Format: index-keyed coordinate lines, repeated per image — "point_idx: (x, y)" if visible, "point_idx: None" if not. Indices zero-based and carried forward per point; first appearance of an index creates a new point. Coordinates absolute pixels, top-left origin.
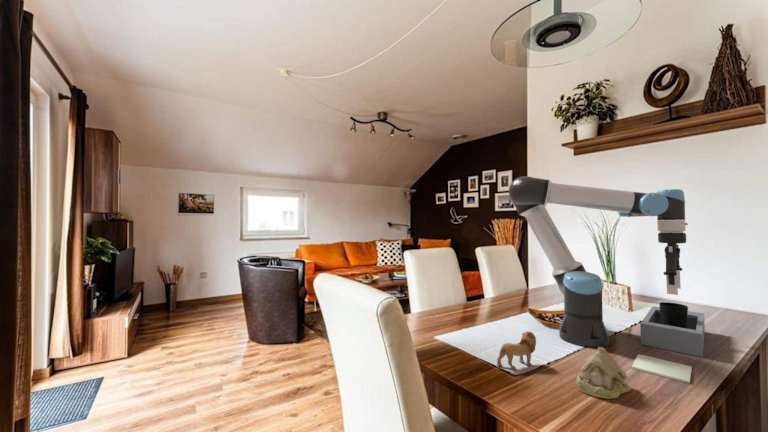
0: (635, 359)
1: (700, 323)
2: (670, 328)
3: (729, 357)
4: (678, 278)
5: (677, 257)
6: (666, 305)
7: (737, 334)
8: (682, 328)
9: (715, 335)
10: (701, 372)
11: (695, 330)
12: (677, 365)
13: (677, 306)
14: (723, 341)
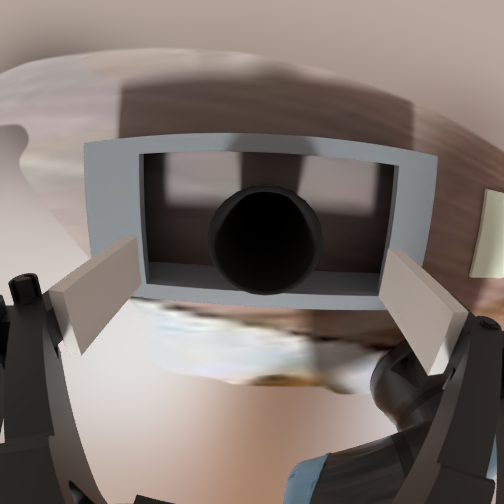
0: (495, 277)
1: (276, 142)
2: (424, 235)
3: (360, 95)
4: (102, 272)
5: (489, 485)
6: (227, 265)
7: (88, 81)
8: (404, 202)
9: (136, 117)
10: (491, 174)
11: (403, 167)
12: (494, 212)
13: (218, 224)
14: (192, 96)
